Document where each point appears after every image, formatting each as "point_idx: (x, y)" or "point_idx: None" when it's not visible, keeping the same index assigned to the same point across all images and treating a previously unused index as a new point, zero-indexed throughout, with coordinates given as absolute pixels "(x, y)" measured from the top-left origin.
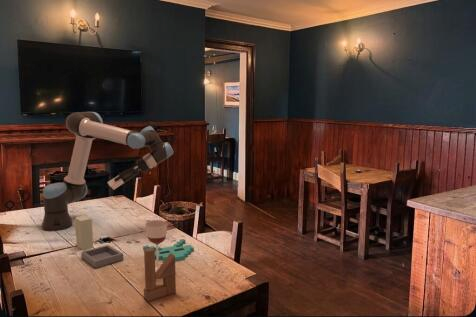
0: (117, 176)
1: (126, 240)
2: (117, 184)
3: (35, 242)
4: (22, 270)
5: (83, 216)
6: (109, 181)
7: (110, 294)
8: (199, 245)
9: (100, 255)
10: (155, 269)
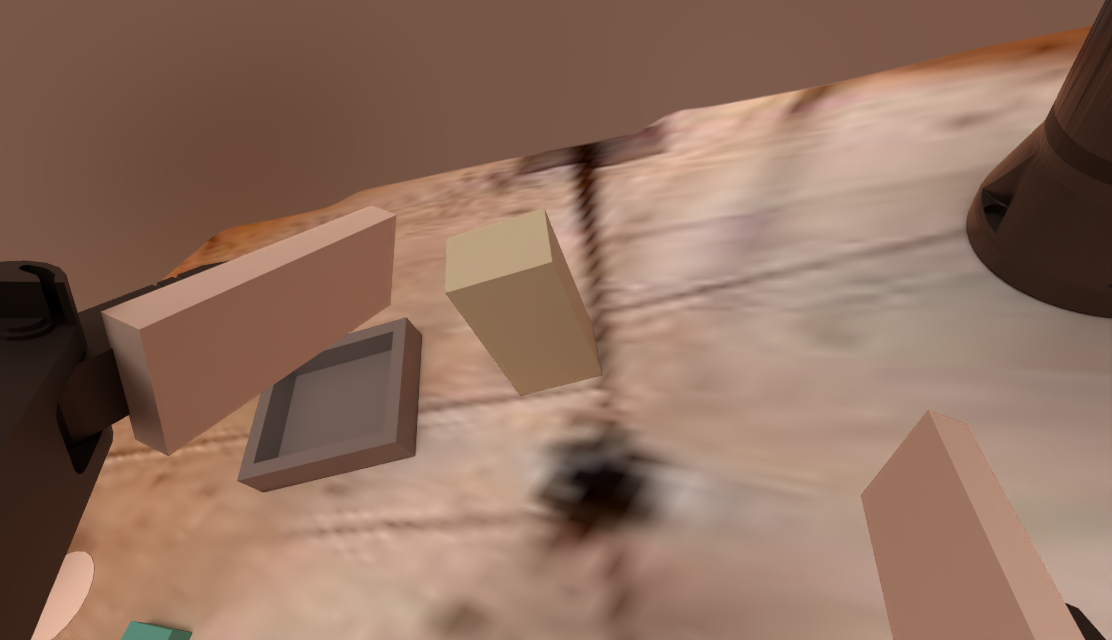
0: (163, 301)
1: (501, 614)
2: (924, 585)
3: (762, 171)
4: (466, 179)
5: (538, 250)
6: (342, 225)
7: None
8: None
9: (378, 405)
10: (58, 586)
